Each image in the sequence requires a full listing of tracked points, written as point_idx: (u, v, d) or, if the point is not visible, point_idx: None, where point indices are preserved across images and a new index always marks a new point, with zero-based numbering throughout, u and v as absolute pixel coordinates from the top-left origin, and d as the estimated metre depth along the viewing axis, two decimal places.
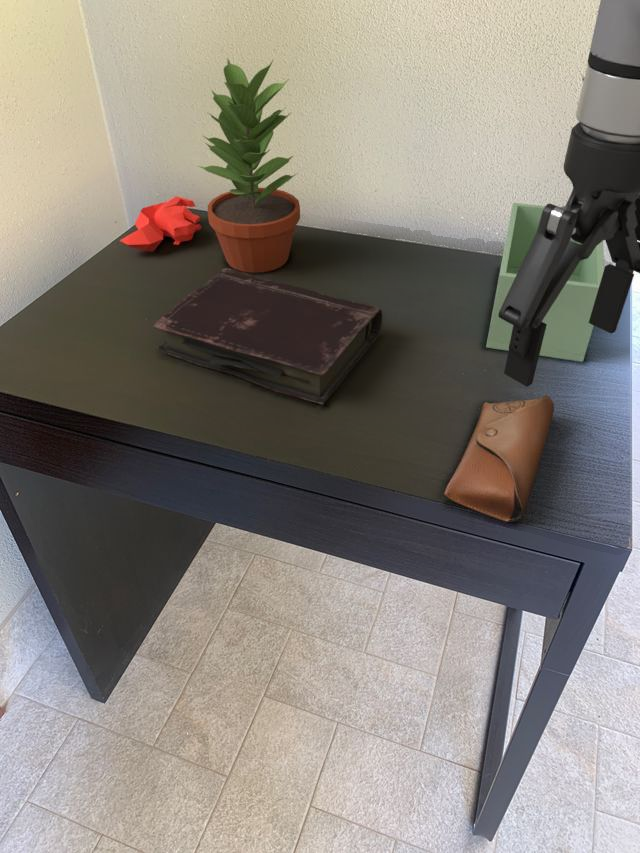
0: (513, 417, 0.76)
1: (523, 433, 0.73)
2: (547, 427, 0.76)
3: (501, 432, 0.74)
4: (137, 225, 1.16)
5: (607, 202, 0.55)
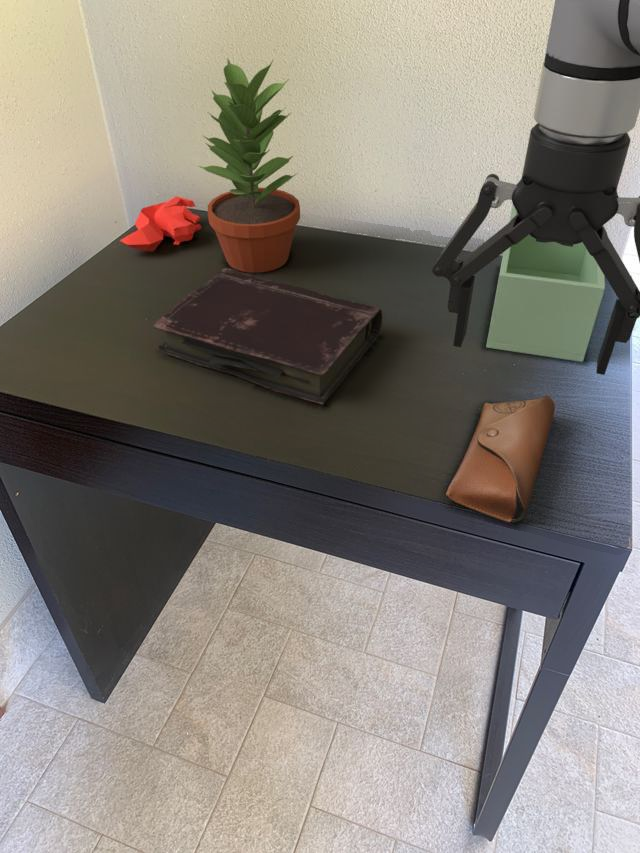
0: (514, 417, 0.75)
1: (524, 434, 0.73)
2: (548, 427, 0.76)
3: (502, 433, 0.74)
4: (137, 225, 1.16)
5: (548, 197, 0.56)
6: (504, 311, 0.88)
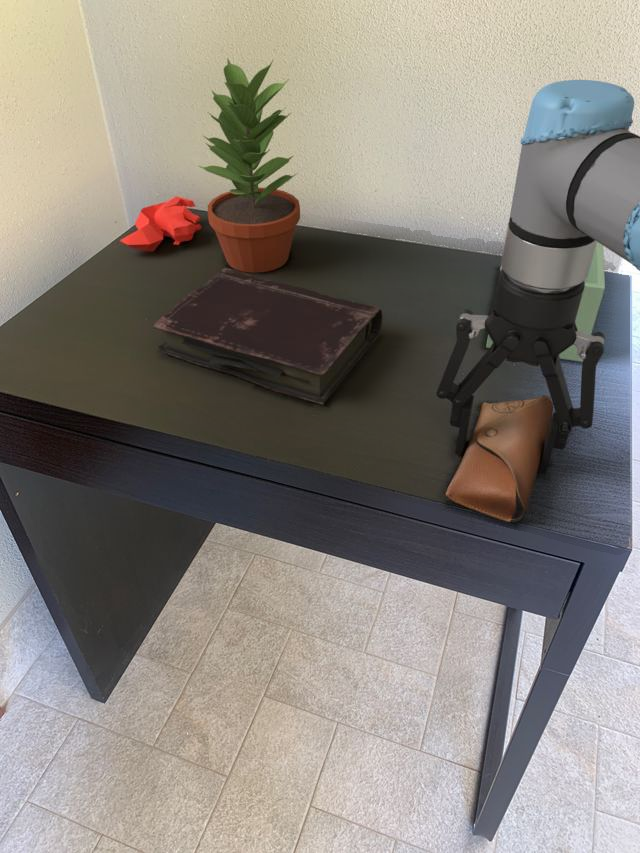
0: (513, 417, 0.76)
1: (523, 433, 0.73)
2: (546, 427, 0.76)
3: (501, 433, 0.74)
4: (137, 225, 1.16)
5: (516, 327, 0.64)
6: None
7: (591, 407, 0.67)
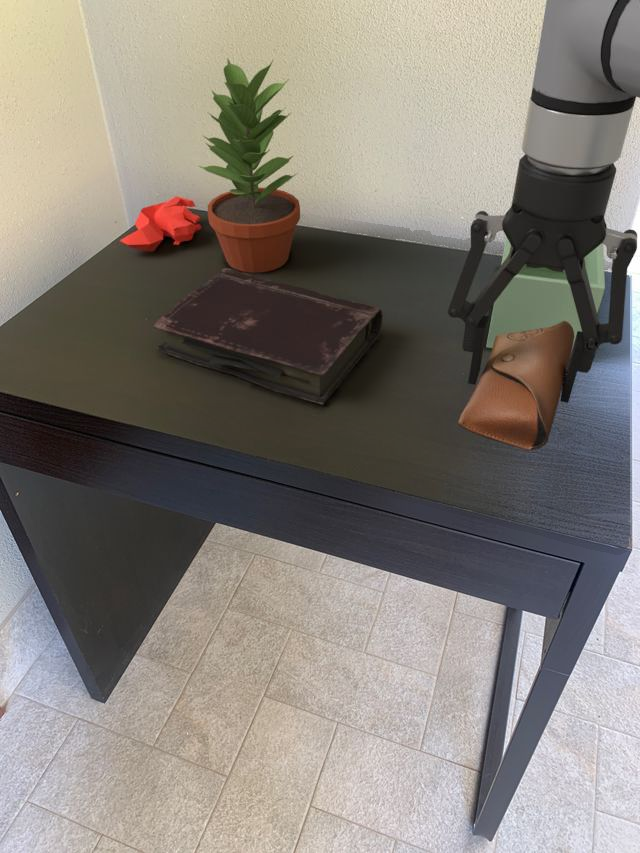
0: (531, 342, 0.69)
1: (544, 357, 0.66)
2: (568, 353, 0.69)
3: (519, 357, 0.67)
4: (137, 225, 1.16)
5: (537, 225, 0.57)
6: (504, 311, 0.88)
7: (621, 318, 0.60)
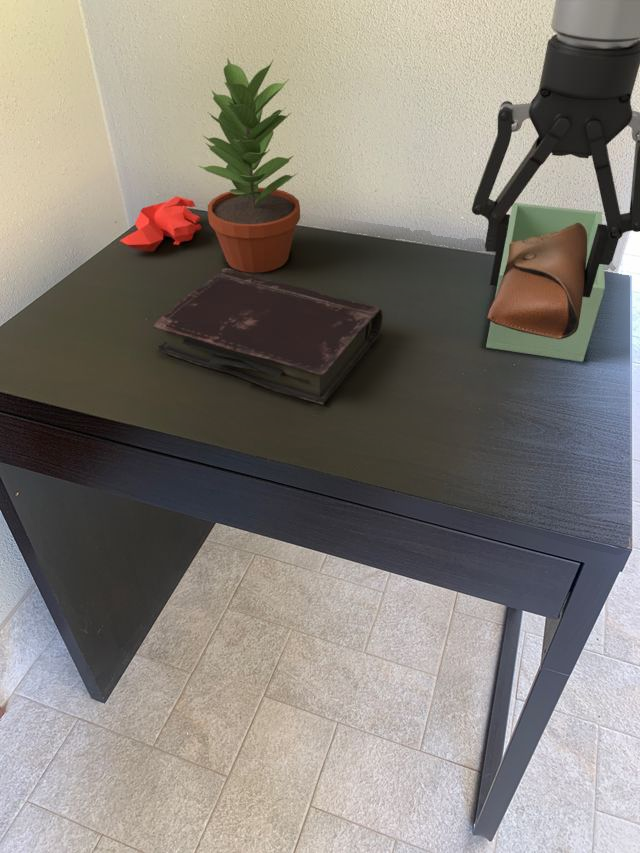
0: (550, 241, 0.70)
1: (565, 253, 0.68)
2: (585, 251, 0.70)
3: (540, 255, 0.68)
4: (137, 225, 1.16)
5: (565, 109, 0.58)
6: None
7: None
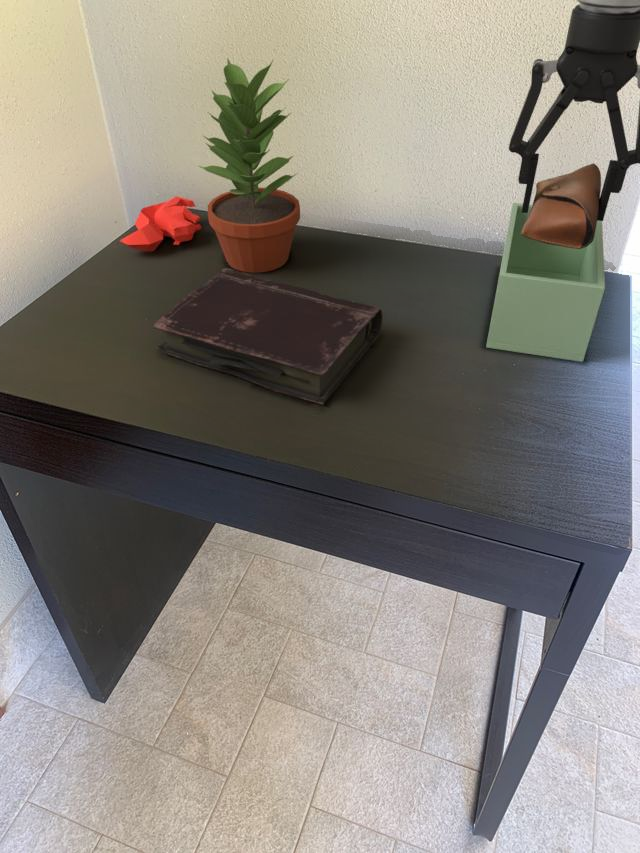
0: (571, 176, 0.86)
1: (583, 184, 0.84)
2: (600, 185, 0.87)
3: (563, 186, 0.85)
4: (137, 225, 1.16)
5: (585, 63, 0.75)
6: (504, 311, 0.88)
7: None
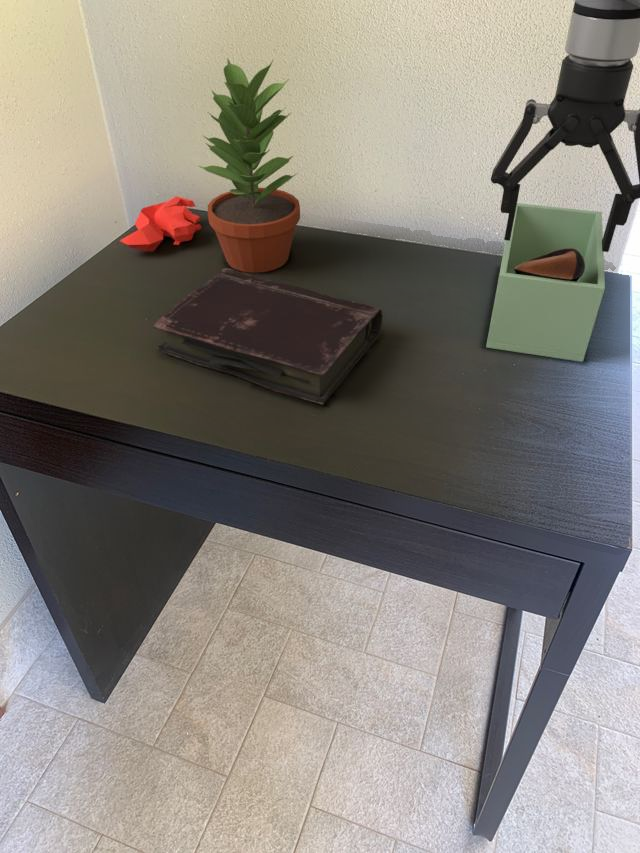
0: None
1: None
2: None
3: None
4: (137, 225, 1.16)
5: (575, 110, 0.78)
6: (504, 311, 0.88)
7: None
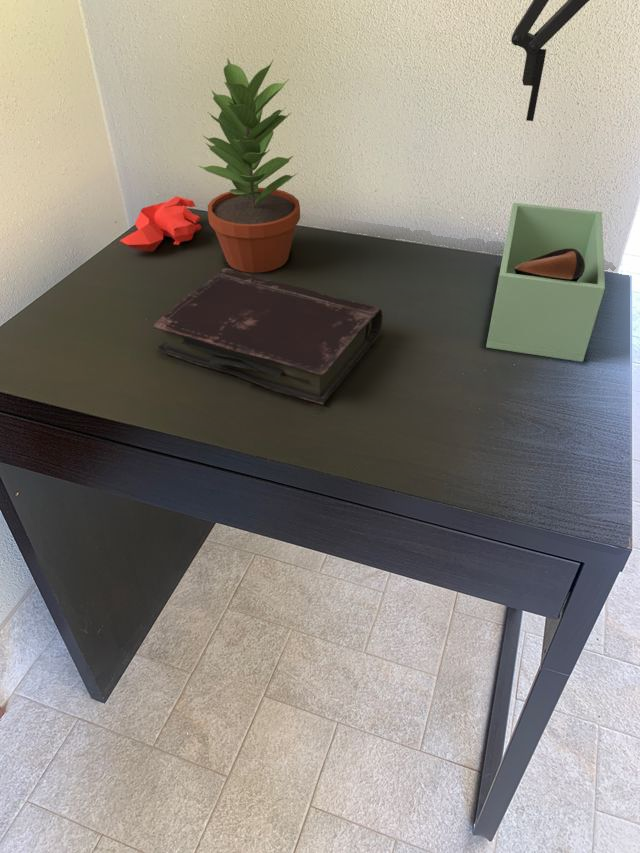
0: None
1: None
2: None
3: None
4: (137, 225, 1.16)
5: None
6: (504, 311, 0.88)
7: None
